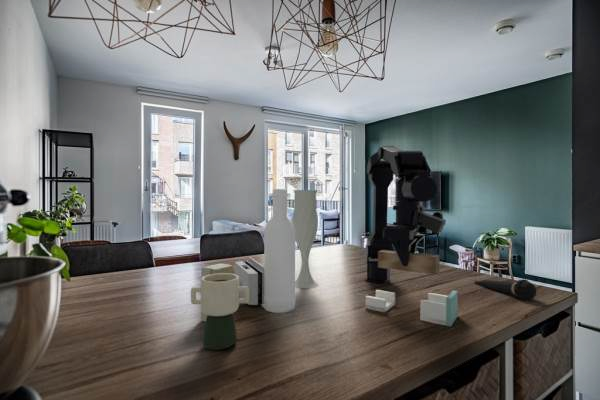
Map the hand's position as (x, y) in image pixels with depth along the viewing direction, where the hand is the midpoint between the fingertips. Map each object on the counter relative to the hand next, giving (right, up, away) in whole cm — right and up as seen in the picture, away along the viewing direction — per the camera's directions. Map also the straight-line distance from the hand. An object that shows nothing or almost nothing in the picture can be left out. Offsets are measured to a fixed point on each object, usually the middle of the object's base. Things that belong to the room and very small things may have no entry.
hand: (407, 264), depth 83 cm
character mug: (-42, -12, -19) cm, 47 cm away
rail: (0, -1, 0) cm, 1 cm away
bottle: (-32, -12, +2) cm, 34 cm away
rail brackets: (0, -11, 0) cm, 11 cm away
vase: (-25, -11, +24) cm, 36 cm away
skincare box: (-46, -12, -5) cm, 47 cm away
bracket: (-40, -11, +9) cm, 43 cm away
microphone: (+34, -12, +17) cm, 40 cm away
